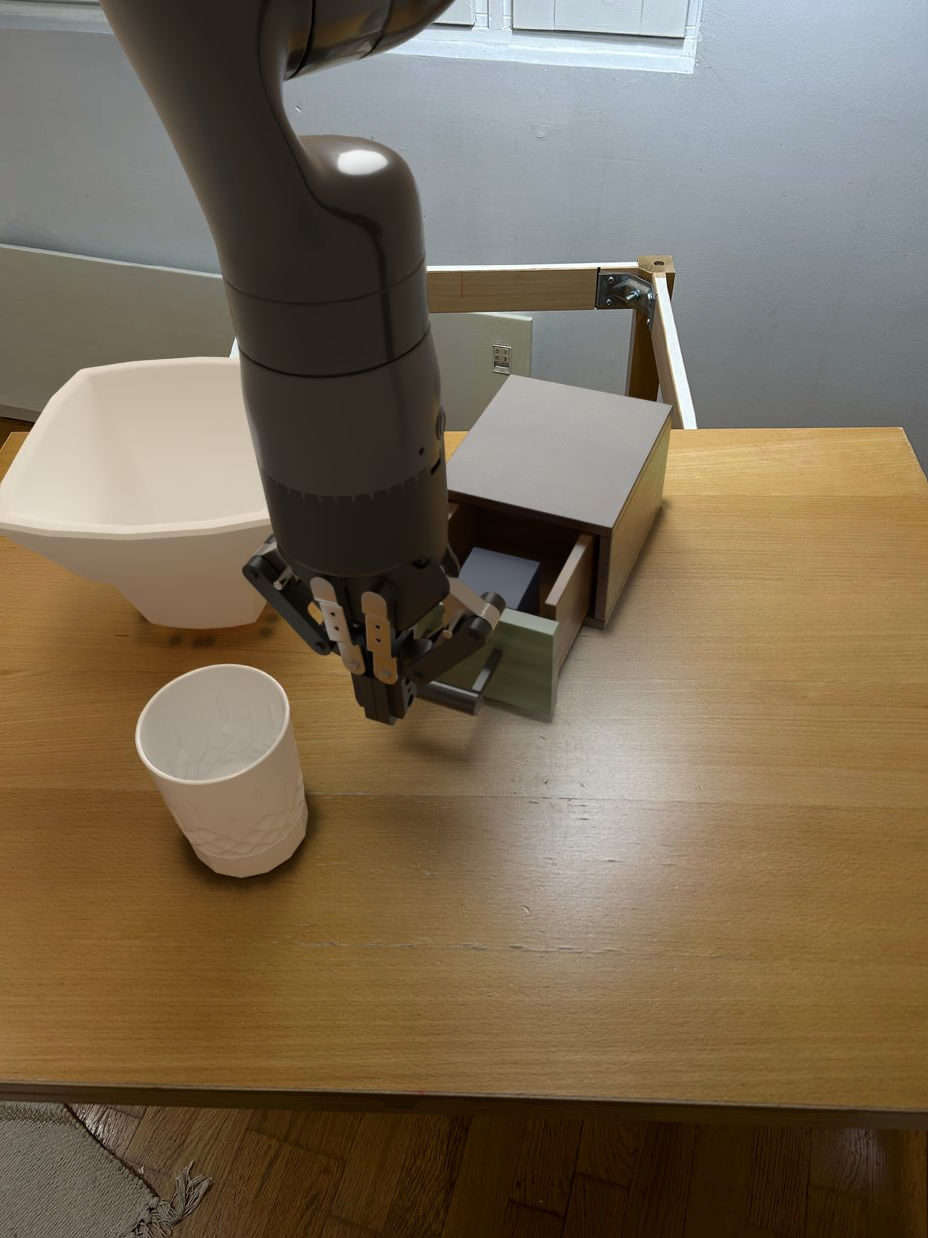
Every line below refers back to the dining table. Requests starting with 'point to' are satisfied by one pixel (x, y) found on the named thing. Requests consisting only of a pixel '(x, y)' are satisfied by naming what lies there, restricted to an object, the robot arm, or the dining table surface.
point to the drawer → (518, 612)
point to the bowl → (147, 488)
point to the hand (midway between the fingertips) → (388, 710)
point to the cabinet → (570, 468)
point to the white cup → (227, 766)
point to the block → (504, 578)
